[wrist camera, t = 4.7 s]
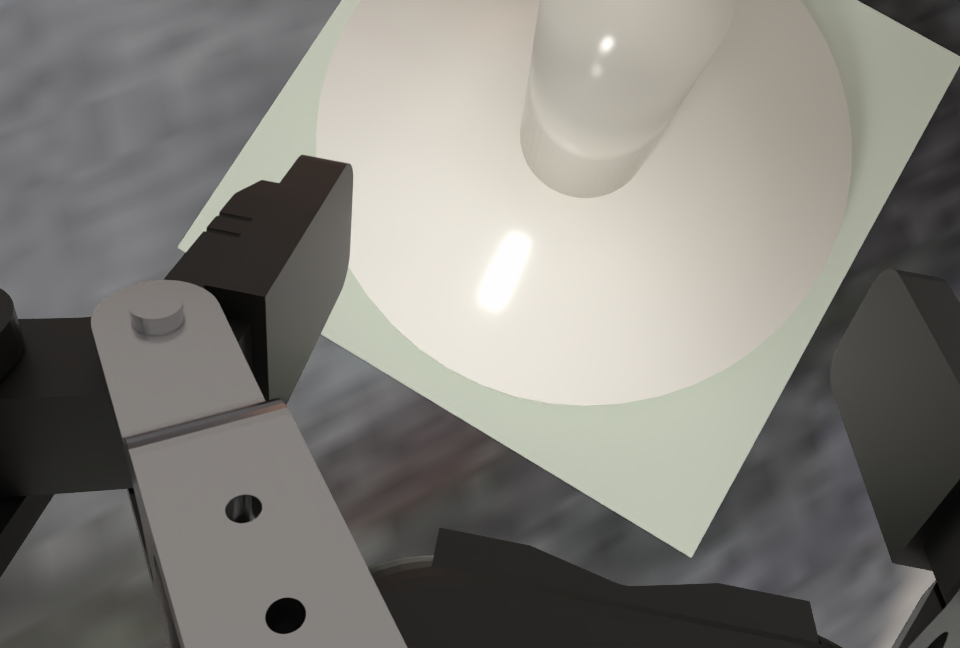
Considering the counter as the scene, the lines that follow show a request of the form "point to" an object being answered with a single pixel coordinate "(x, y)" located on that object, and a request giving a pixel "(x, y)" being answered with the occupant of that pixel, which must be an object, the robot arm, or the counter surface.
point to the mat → (683, 413)
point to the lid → (587, 183)
